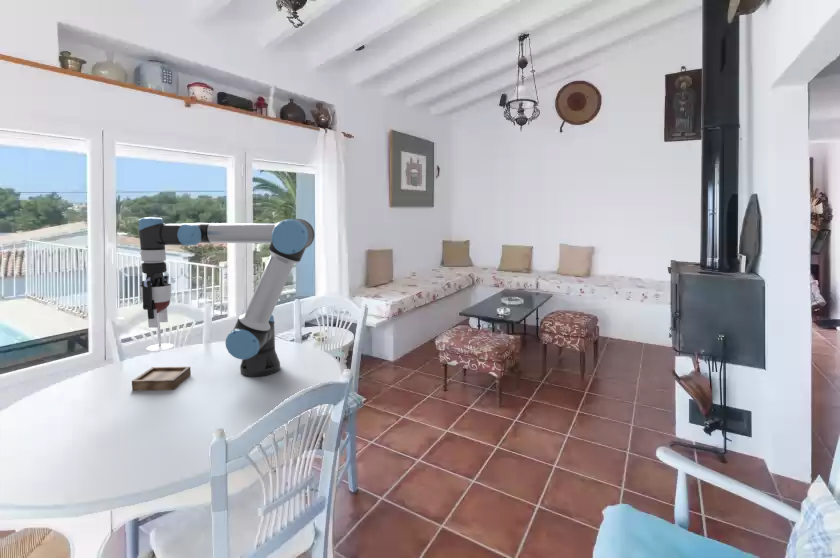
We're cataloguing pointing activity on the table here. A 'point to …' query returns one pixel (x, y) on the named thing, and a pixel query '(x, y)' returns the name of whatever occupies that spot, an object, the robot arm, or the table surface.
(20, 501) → the table surface
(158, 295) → the wineglass
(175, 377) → the tray
